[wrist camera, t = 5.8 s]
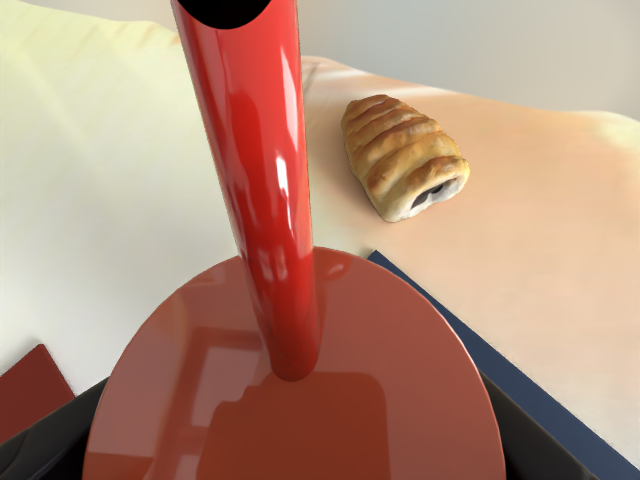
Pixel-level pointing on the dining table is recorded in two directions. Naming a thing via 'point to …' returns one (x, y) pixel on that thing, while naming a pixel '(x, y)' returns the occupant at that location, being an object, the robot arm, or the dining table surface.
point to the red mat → (30, 392)
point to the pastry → (401, 157)
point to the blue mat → (531, 396)
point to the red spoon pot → (284, 314)
